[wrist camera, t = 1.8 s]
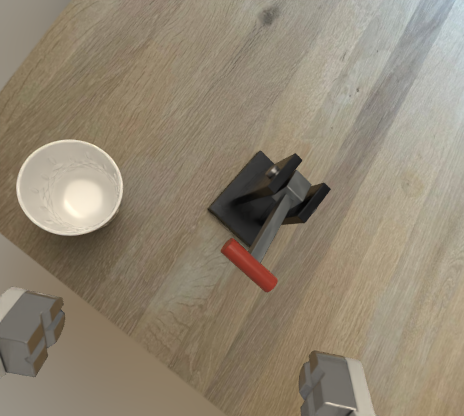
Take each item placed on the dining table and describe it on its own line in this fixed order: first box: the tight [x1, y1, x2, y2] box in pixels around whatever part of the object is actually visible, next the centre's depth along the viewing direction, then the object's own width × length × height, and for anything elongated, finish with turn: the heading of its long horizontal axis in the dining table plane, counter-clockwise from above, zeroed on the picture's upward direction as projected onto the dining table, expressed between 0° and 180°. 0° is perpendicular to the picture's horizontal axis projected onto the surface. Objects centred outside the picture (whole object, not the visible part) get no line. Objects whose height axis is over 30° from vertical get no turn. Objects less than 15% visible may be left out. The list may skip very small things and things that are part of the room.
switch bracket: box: [208, 151, 331, 248], centre depth 36 cm, size 10×8×12 cm
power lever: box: [221, 170, 311, 292], centre depth 29 cm, size 12×5×2 cm, turn 139°
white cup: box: [16, 140, 123, 236], centre depth 31 cm, size 8×8×10 cm
